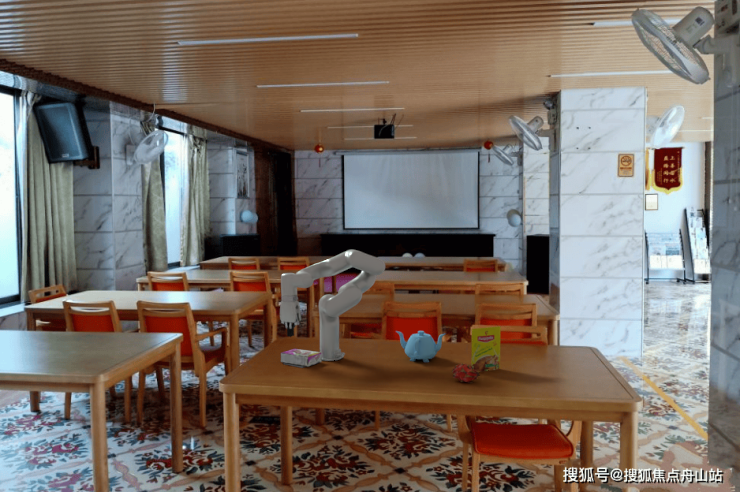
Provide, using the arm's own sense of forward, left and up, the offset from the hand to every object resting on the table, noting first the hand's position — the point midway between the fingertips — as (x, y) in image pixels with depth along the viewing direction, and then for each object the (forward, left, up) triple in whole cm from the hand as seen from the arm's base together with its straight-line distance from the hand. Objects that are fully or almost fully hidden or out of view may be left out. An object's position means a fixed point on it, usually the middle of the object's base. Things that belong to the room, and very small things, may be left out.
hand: (290, 336), depth 287 cm
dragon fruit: (-85, -17, -13) cm, 87 cm away
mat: (-7, +1, -12) cm, 14 cm away
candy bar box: (+2, 0, -10) cm, 10 cm away
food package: (-85, -39, -13) cm, 94 cm away
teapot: (-50, -40, -13) cm, 65 cm away
